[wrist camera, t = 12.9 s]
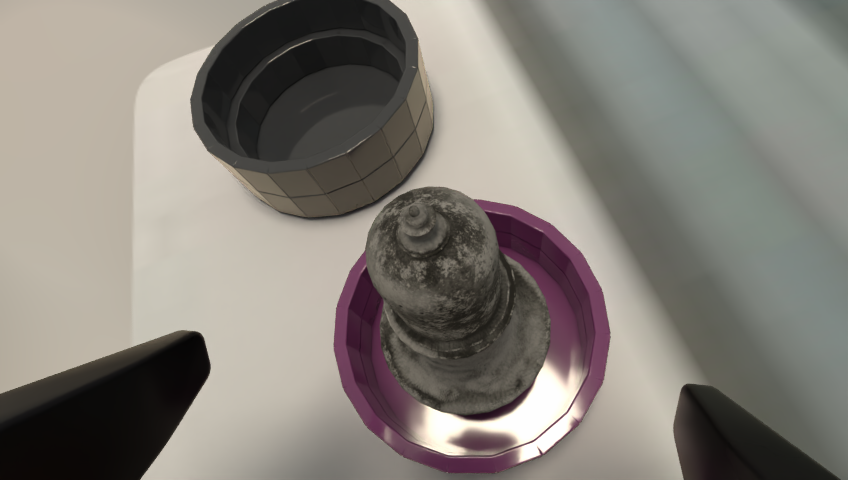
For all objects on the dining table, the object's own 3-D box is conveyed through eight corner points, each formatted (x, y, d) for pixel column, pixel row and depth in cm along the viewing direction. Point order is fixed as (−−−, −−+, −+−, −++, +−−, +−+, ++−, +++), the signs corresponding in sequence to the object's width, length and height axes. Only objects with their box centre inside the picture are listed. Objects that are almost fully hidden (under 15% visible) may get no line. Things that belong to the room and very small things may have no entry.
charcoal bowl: (436, 209, 22) (418, 156, 17) (226, 228, 23) (167, 184, 19) (432, 42, 26) (417, -31, 22) (257, 69, 28) (214, 6, 24)
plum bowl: (611, 466, 16) (636, 473, 13) (357, 466, 17) (323, 472, 14) (572, 227, 20) (584, 188, 17) (367, 244, 21) (342, 211, 18)
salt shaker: (420, 437, 17) (267, 438, 6) (388, 298, 20) (241, 131, 9) (566, 395, 17) (666, 322, 6) (515, 259, 19) (519, 38, 9)
